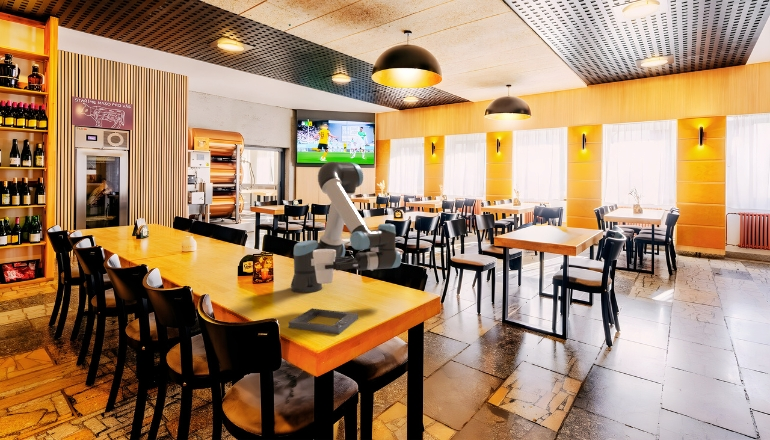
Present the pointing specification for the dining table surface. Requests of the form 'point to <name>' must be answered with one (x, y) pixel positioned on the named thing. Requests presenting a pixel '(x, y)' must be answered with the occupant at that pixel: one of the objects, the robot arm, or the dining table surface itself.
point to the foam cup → (324, 257)
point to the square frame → (337, 328)
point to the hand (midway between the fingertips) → (313, 264)
